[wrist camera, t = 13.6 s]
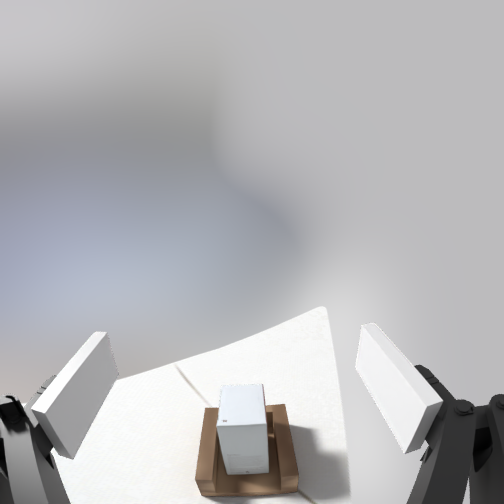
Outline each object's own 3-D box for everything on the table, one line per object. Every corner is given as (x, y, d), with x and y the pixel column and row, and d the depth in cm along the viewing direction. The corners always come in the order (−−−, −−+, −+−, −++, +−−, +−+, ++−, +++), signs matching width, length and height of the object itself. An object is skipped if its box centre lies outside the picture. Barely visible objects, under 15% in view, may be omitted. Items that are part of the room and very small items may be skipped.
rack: (201, 495, 26) (195, 479, 25) (209, 426, 40) (205, 407, 39) (296, 491, 26) (298, 475, 26) (284, 423, 40) (284, 404, 39)
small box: (269, 474, 29) (267, 424, 27) (226, 475, 29) (215, 426, 27) (266, 434, 37) (263, 382, 35) (228, 435, 37) (220, 384, 35)
